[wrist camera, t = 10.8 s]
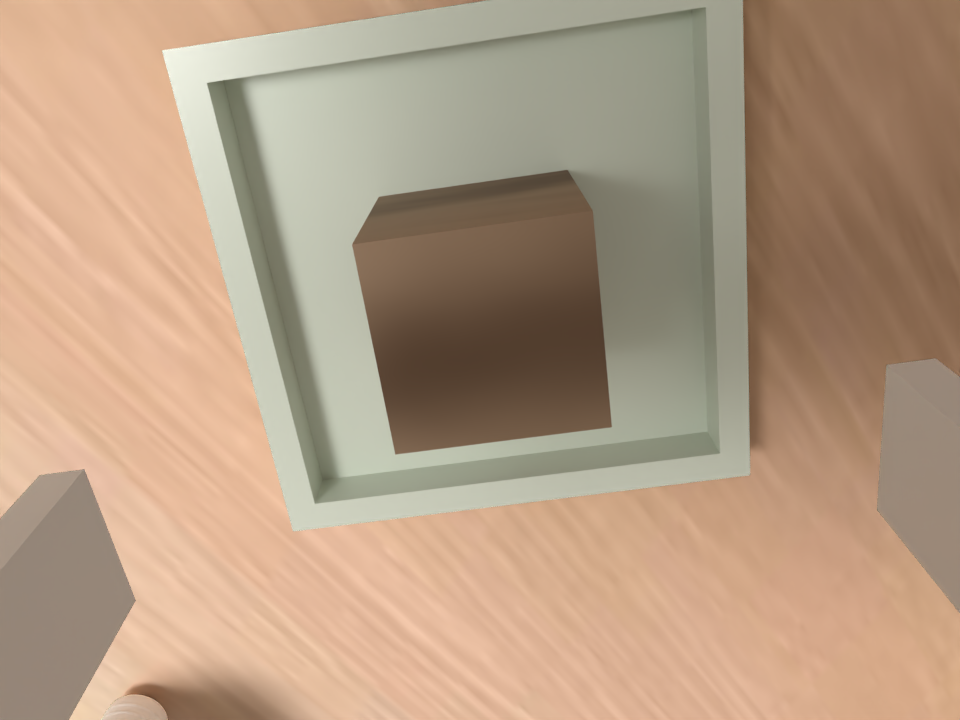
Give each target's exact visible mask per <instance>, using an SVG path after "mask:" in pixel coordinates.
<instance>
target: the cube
mask: <svg viewBox="0 0 960 720" xmlns="http://www.w3.org/2000/svg"><path fill="white" fill-rule="evenodd" d="M352 247H353V252H354V257H355V261H356V266H357V271H358V276H359V281H360V286H361V291H362V295H363V300H364V305H365V310H366V315H367V320H368V325H369V329H370V334H371V339H372V344H373V349H374V354H375V359H376V363H377V368H378V373H379V378H380V383H381V388H382V392H383V397H384V402H385V407H386V412H387V417H388V422H389V426H390V431H391V436H392V441H393V446H394V451H395V455H396V454H404V453H412V452H420V451H428V450H436V449H444V448H452V447H460V446H468V445H475V444H483V443H491V442H499V441H507V440H515V439H523V438H531V437H539V436H547V435H555V434H563V433H570V432H578V431H586V430H594V429H602V428H610V427H612V422H611V411H610V399H609V388H608V377H607V365H606V354H605V343H604V331H603V320H602V309H601V297H600V286H599V274H598V263H597V252H596V240H595V229H594V218H593V210H592V209H591V207H590V205H589V204H588V202H587V200H586V199H585V197H584V196H583V194H582V192H581V191H580V189H579V187H578V186H577V184H576V183H575V181H574V179H573V178H572V176H571V175H570V173H569V171H568V170H563V171H556V172H549V173H542V174H535V175H528V176H521V177H514V178H506V179H499V180H492V181H485V182H478V183H471V184H464V185H457V186H450V187H443V188H436V189H429V190H422V191H415V192H408V193H401V194H394V195H387V196H380V197H378V199H377V201H376V203H375V204H374V206H373V208H372V210H371V212H370V213H369V215H368V217H367V219H366V220H365V222H364V224H363V226H362V228H361V229H360V231H359V233H358V235H357V236H356V238H355V240H354V242H353V244H352Z"/></svg>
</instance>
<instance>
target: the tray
mask: <svg viewBox="0 0 960 720" xmlns="http://www.w3.org/2000/svg"><path fill="white" fill-rule="evenodd" d="M162 52H163V56H164V60H165V63H166V67H167V71H168V74H169V78H170V82H171V85H172V89H173V93H174V96H175V100H176V104H177V107H178V111H179V115H180V118H181V122H182V126H183V129H184V133H185V137H186V140H187V144H188V148H189V151H190V155H191V159H192V162H193V166H194V170H195V173H196V177H197V181H198V184H199V188H200V192H201V195H202V199H203V203H204V206H205V210H206V214H207V217H208V221H209V225H210V228H211V232H212V236H213V239H214V243H215V247H216V250H217V254H218V258H219V261H220V265H221V269H222V272H223V276H224V280H225V283H226V287H227V291H228V294H229V298H230V302H231V305H232V309H233V313H234V316H235V320H236V324H237V327H238V331H239V335H240V338H241V342H242V346H243V349H244V353H245V357H246V360H247V364H248V368H249V371H250V375H251V379H252V382H253V386H254V390H255V393H256V397H257V401H258V404H259V408H260V412H261V415H262V419H263V423H264V426H265V430H266V434H267V437H268V441H269V445H270V448H271V452H272V456H273V459H274V463H275V467H276V470H277V474H278V478H279V481H280V485H281V489H282V492H283V496H284V500H285V503H286V507H287V511H288V514H289V518H290V522H291V525H292V529H293V531H300V530H308V529H317V528H325V527H333V526H341V525H349V524H357V523H365V522H374V521H382V520H390V519H398V518H406V517H414V516H422V515H431V514H439V513H447V512H455V511H463V510H471V509H480V508H488V507H496V506H504V505H512V504H520V503H528V502H537V501H545V500H553V499H561V498H569V497H577V496H585V495H594V494H602V493H610V492H618V491H626V490H634V489H643V488H651V487H659V486H667V485H675V484H683V483H691V482H700V481H708V480H716V479H724V478H732V477H740V476H748V475H750V429H749V365H748V301H747V236H746V172H745V108H744V43H743V0H486V1H480V2H473V3H467V4H460V5H454V6H448V7H441V8H435V9H428V10H422V11H415V12H409V13H402V14H396V15H389V16H383V17H376V18H370V19H363V20H357V21H350V22H344V23H337V24H331V25H324V26H318V27H312V28H305V29H299V30H292V31H286V32H279V33H273V34H266V35H260V36H253V37H247V38H240V39H234V40H227V41H221V42H214V43H208V44H201V45H195V46H188V47H182V48H175V49H169V50H163V51H162ZM563 170H568V171H569V173H570V175H571V176H572V178H573V179H574V181H575V183H576V184H577V186H578V187H579V189H580V191H581V192H582V194H583V196H584V197H585V199H586V200H587V202H588V204H589V205H590V207H591V209H592V210H593V218H594V229H595V240H596V252H597V263H598V274H599V286H600V297H601V309H602V320H603V331H604V343H605V354H606V365H607V377H608V388H609V399H610V411H611V422H612V427H610V428H602V429H594V430H586V431H578V432H570V433H563V434H555V435H547V436H539V437H531V438H523V439H515V440H507V441H499V442H491V443H483V444H475V445H468V446H460V447H452V448H444V449H436V450H428V451H420V452H412V453H404V454H396V455H395V451H394V446H393V441H392V436H391V431H390V426H389V422H388V417H387V412H386V407H385V402H384V397H383V392H382V388H381V383H380V378H379V373H378V368H377V363H376V359H375V354H374V349H373V344H372V339H371V334H370V329H369V325H368V320H367V315H366V310H365V305H364V300H363V295H362V291H361V286H360V281H359V276H358V271H357V266H356V261H355V257H354V252H353V247H352V244H353V242H354V240H355V238H356V236H357V235H358V233H359V231H360V229H361V228H362V226H363V224H364V222H365V220H366V219H367V217H368V215H369V213H370V212H371V210H372V208H373V206H374V204H375V203H376V201H377V199H378V197H380V196H387V195H394V194H401V193H408V192H415V191H422V190H429V189H436V188H443V187H450V186H457V185H464V184H471V183H478V182H485V181H492V180H499V179H506V178H514V177H521V176H528V175H535V174H542V173H549V172H556V171H563Z"/></svg>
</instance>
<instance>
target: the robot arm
mask: <svg viewBox="0 0 960 720" xmlns="http://www.w3.org/2000/svg"><path fill="white" fill-rule="evenodd" d="M877 511H878V512H879V513H880V514H881V516H882V517H883V518H884V519H885V521H886V522H887V523H888V524H889V526H890V527H891V528H892V529H893V530H894V532H895V533H896V534H897V535H898V537H899V538H900V539H901V540H902V542H903V543H904V544H905V545H906V547H907V548H908V549H909V550H910V552H911V553H912V554H913V555H914V557H915V558H916V559H917V560H918V562H919V563H920V564H921V565H922V567H923V568H924V569H925V570H926V572H927V573H928V574H929V575H930V577H931V578H932V579H933V580H934V581H935V583H936V584H937V585H938V586H939V588H940V589H941V590H942V591H943V593H944V594H945V595H946V596H947V598H948V599H949V600H950V601H951V603H952V604H953V605H954V606H955V608H956V609H957V610H958V611H959V613H960V377H959V376H958V375H957V374H956V373H954V372H953V371H952V370H950V369H949V368H948V367H946V366H945V365H944V364H942V363H941V362H940V361H938V360H937V359H936V358H935V359H927V360H920V361H912V362H904V363H897V364H889V365H886V380H885V395H884V410H883V425H882V441H881V456H880V471H879V486H878V501H877ZM135 601H136V600H135V597H134V595H133V592H132V590H131V587H130V585H129V582H128V580H127V577H126V574H125V572H124V569H123V567H122V564H121V562H120V559H119V557H118V554H117V552H116V549H115V546H114V544H113V541H112V539H111V536H110V534H109V531H108V529H107V526H106V523H105V521H104V518H103V516H102V513H101V511H100V508H99V506H98V503H97V501H96V498H95V495H94V493H93V490H92V488H91V485H90V483H89V480H88V478H87V475H86V472H85V470H84V469H83V470H76V471H68V472H60V473H53V474H45V475H39V477H38V478H37V479H36V480H35V481H34V482H33V483H32V484H31V485H30V486H29V487H28V489H27V490H26V491H25V492H24V493H23V494H22V495H21V496H20V497H19V498H18V499H17V501H16V502H15V503H14V504H13V505H12V506H11V507H10V508H9V509H8V510H7V512H6V513H5V514H4V515H3V516H2V517H1V518H0V720H69V718H70V717H71V715H72V713H73V711H74V709H75V708H76V706H77V704H78V702H79V701H80V699H81V697H82V695H83V693H84V692H85V690H86V688H87V686H88V684H89V683H90V681H91V679H92V677H93V676H94V674H95V672H96V670H97V668H98V667H99V665H100V663H101V661H102V660H103V658H104V656H105V654H106V652H107V651H108V649H109V647H110V645H111V644H112V642H113V640H114V638H115V636H116V635H117V633H118V631H119V629H120V627H121V626H122V624H123V622H124V620H125V619H126V617H127V615H128V613H129V611H130V610H131V608H132V606H133V604H134V603H135Z"/></svg>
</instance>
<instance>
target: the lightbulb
mask: <svg viewBox="0 0 960 720" xmlns="http://www.w3.org/2000/svg"><path fill="white" fill-rule="evenodd" d="M101 720H168V717H167V714H166V712H165V710H164V708H163V707H162V706H161V705H160V704H159V703H158V702H157V701H155V700H154V699H152V698H150V697H148V696H144V695H138V694H132V695H126V696H123V697H121V698H118V699H117V700H115V701H114V702H113V703H112V704H111V705H110V707H109V708H108V710H107V711H106V712H105V714H104V715H103V718H102V719H101Z"/></svg>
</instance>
